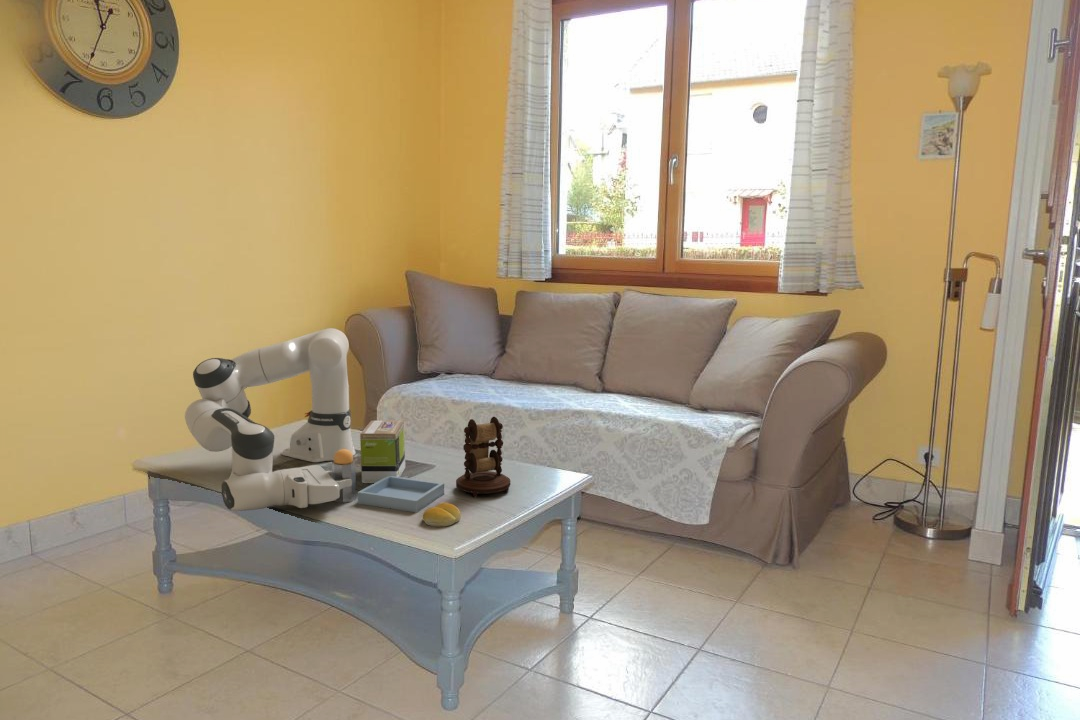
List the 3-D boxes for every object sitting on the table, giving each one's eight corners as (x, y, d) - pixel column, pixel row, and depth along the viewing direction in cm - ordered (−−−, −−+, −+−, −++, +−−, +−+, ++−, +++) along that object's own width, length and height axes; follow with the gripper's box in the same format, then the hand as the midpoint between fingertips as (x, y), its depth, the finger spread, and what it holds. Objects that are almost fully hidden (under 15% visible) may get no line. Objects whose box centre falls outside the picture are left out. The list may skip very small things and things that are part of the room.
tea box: (372, 467, 226) (371, 419, 224) (406, 468, 226) (405, 419, 224) (360, 484, 212) (359, 432, 209) (397, 484, 212) (396, 432, 209)
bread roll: (416, 523, 184) (416, 507, 183) (441, 512, 191) (441, 497, 191) (441, 530, 179) (441, 514, 179) (466, 519, 187) (466, 504, 186)
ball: (330, 468, 196) (329, 450, 196) (341, 463, 201) (340, 446, 200) (346, 471, 195) (345, 452, 194) (356, 465, 199) (356, 448, 198)
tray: (357, 503, 196) (357, 492, 196) (388, 486, 210) (388, 475, 210) (416, 512, 190) (416, 501, 190) (444, 494, 204) (444, 483, 204)
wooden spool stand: (495, 478, 219) (495, 409, 215) (520, 493, 206) (521, 421, 203) (447, 485, 211) (447, 415, 208) (470, 502, 199) (470, 427, 195)
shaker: (336, 503, 196) (336, 466, 194) (331, 497, 200) (330, 460, 199) (357, 500, 198) (357, 463, 197) (351, 494, 203) (350, 457, 201)
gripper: (284, 486, 201) (336, 478, 208) (302, 510, 184) (359, 501, 191) (283, 463, 200) (336, 456, 207) (301, 485, 183) (358, 477, 190)
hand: (347, 478), depth 199 cm, fingers closed on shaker, 5 cm apart
